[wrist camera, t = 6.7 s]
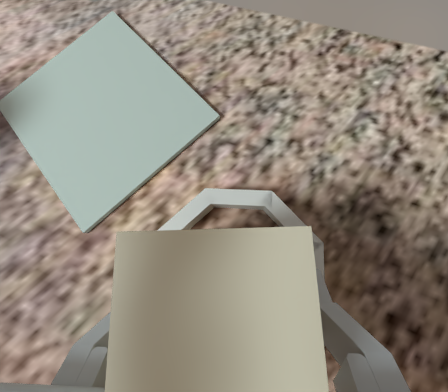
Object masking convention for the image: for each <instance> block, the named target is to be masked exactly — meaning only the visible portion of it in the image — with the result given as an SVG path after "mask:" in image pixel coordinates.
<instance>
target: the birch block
mask: <svg viewBox="0 0 448 392" xmlns="http://www.w3.org/2000/svg"><path fill="white" fill-rule="evenodd" d="M105 392H329V388H328V379H327V369H326V360H325V350H324V341H323V331H322V322H321V312H320V303H319V294H318V284H317V275H316V265H315V256H314V246H313V237H312V228H311V226H296V227H262V228H228V229H194V230H160V231H127V232H117V235H116V248H115V261H114V274H113V288H112V301H111V314H110V327H109V340H108V354H107V367H106V380H105Z"/></svg>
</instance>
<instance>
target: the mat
mask: <svg viewBox="0 0 448 392" xmlns="http://www.w3.org/2000/svg"><path fill="white" fill-rule="evenodd" d="M0 111H1V113H2V114H3V115H4V117H5V118H6V120H7V121H8V123H9V124H10V126H11V127H12V129H13V130H14V132H15V133H16V135H17V136H18V138H19V139H20V141H21V142H22V144H23V145H24V146H25V148H26V149H27V151H28V152H29V154H30V155H31V157H32V158H33V160H34V161H35V163H36V164H37V166H38V167H39V169H40V170H41V172H42V173H43V175H44V176H45V177H46V179H47V180H48V182H49V183H50V185H51V186H52V188H53V189H54V191H55V192H56V194H57V195H58V197H59V198H60V200H61V201H62V203H63V204H64V206H65V207H66V209H67V210H68V211H69V213H70V214H71V216H72V217H73V219H74V220H75V222H76V223H77V225H78V226H79V228H80V229H81V231H82V232H83V233H88V232H89V231H90V230H91V229H93V228H94V227H95V226H96V225H97V224H98V223H100V222H101V221H102V220H103V219H104V218H105V217H107V216H108V215H109V214H110V213H111V212H112V211H114V210H115V209H116V208H117V207H118V206H119V205H120V204H122V203H123V202H124V201H125V200H126V199H127V198H129V197H130V196H131V195H132V194H133V193H134V192H136V191H137V190H138V189H139V188H140V187H141V186H143V185H144V184H145V183H146V182H147V181H148V180H149V179H151V178H152V177H153V176H154V175H155V174H156V173H158V172H159V171H160V170H161V169H162V168H163V167H165V166H166V165H167V164H168V163H169V162H170V161H172V160H173V159H174V158H175V157H176V156H177V155H178V154H180V153H181V152H182V151H183V150H184V149H185V148H187V147H188V146H189V145H190V144H191V143H192V142H194V141H195V140H196V139H197V138H198V137H199V136H201V135H202V134H203V133H204V132H205V131H206V130H207V129H209V128H210V127H211V126H212V125H213V124H214V123H216V122H217V121H218V120H219V119H220V116H219V115H218V114H217V113H216V112H215V111H214V110H213V109H212V108H211V107H210V106H209V105H208V104H207V103H206V102H205V101H204V100H203V99H202V98H201V97H200V96H199V95H198V94H197V93H196V92H195V91H194V90H193V89H192V88H191V87H190V86H189V85H188V84H187V83H186V82H185V81H184V80H183V79H182V78H181V77H180V76H179V75H178V74H177V73H176V72H175V71H174V70H173V69H172V68H170V67H169V66H168V65H167V64H166V63H165V62H164V61H163V60H162V59H161V58H160V57H159V56H158V55H157V54H156V53H155V52H154V51H153V50H152V49H151V48H150V47H149V46H148V45H147V44H146V43H145V42H144V41H143V40H142V39H141V38H140V37H139V36H138V35H137V34H136V33H135V32H134V31H133V30H132V29H131V28H130V27H129V26H128V25H127V24H126V23H125V22H124V21H123V20H121V19H120V18H119V17H118V16H117V15H116V14H115V13H114V12H113V11H112V12H111V13H109V14H108V15H107V16H106V17H104V18H103V19H102V20H100V21H99V22H98V23H97V24H95V25H94V26H93V27H92V28H90V29H89V30H88V31H87V32H85V33H84V34H83V35H82V36H80V37H79V38H78V39H77V40H75V41H74V42H73V43H72V44H70V45H69V46H68V47H67V48H65V49H64V50H63V51H62V52H60V53H59V54H58V55H57V56H55V57H54V58H53V59H51V60H50V61H49V62H48V63H46V64H45V65H44V66H43V67H41V68H40V69H39V70H38V71H36V72H35V73H34V74H33V75H31V76H30V77H29V78H28V79H26V80H25V81H24V82H23V83H21V84H20V85H19V86H18V87H16V88H15V89H14V90H13V91H11V92H10V93H9V94H8V95H6V96H5V97H4V98H2V99H1V100H0Z"/></svg>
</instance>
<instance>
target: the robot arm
mask: <svg viewBox="0 0 448 392" xmlns="http://www.w3.org/2000/svg"><path fill="white" fill-rule="evenodd" d="M316 275H317V284H318V294H319V303H320V312H321V322H322V331H323V341H324V345H325V346H326V348H327V349H328V350H329V352H330V353H331V354H332V355H333V357H334V358H335V359H336V361H337V362H338V363H339V365H340V366H341V368H340V369H339V371H338V373H337V375H336V377H335V378H334V380H333V382H334V386H335V389H336V392H411V391H410V389H409V387H408V385H407V383H406V381H405V379H404V377H403V375H402V373H401V371H400V369H399V367H398V366H397V364H396V362H395V360H394V358H393V356H392V354H391V353H390V352H389V351H388V350H387V349H386V348H385V347H384V346H383V345H382V344H380V343H379V342H378V341H377V340H376V339H375V338H374V337H373V336H372V335H371V334H370V333H369V332H368V331H366V330H365V329H364V328H363V327H362V326H361V325H360V324H359V323H358V322H357V321H356V320H355V319H353V318H352V317H351V316H350V315H349V314H348V313H347V312H346V311H345V310H344V309H343V308H342V307H341V306H339V305H338V304H337V303H333V302H332V299H331V297H330V294H329V291H328V289H327V286H326V284H325V281H324V279H323V276H322V273H321V271H320V270H319V269H318V268H316ZM110 314H111V312H110V313H109V314H108V315H106V316H105V317H104V318H103V319H102V320H101V321H100V322H99V323H97V324H96V325H95V326H94V327H93V328H92V329H91V330H90V331H88V332H87V333H86V334H85V335H84V336H83V337H82V338H81V339H79V340H78V341H77V342H76V343H75V344H74V345H73V346H72V348H71V350H70V352H69V353H68V355H67V357H66V359H65V360H64V362H63V364H62V366H61V367H60V369H59V371H58V373H57V374H56V376H55V378H54V380H53V381H52V383H51V385H41V384H20V383H0V392H105V380H106V367H107V354H108V340H109V327H110Z"/></svg>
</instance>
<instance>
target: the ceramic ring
mask: <svg viewBox="0 0 448 392" xmlns="http://www.w3.org/2000/svg"><path fill="white" fill-rule="evenodd" d="M214 207H216V208H237V209H258V210H264V211H265V212H266V214H267V215H268V216H269V217H270V218H271V219H272V220H273V221H274V222H275V223H276V224H277V225H278V226H279V227H296V226H306V225H305V224H304V223H303V222H302V221H301V220H300V219H299V218H298V217H297V216H296V215H295V214H294V213H293V212H292V211H291V210H290V209H289V208H288V207H287V206H286V205H285V203H284V202H283V201H282V200H281V199H280V198H279V197H278V196H277V195H276V194H275V193H274V192H273V191H263V190H237V189H210V188H205V189H204V190H203V191H202V192H201V193H200V194H198V195H197V196H196V197H195V198H194V199H193V200H192V201H190V202H189V203H188V204H187V205H186V206H185V207H184V208H182V209H181V210H180V211H179V212H178V213H177V214H176V215H175V216H173V217H172V218H171V219H170V220H169V221H168V222H167V223H165V224H164V225H163V226H162V227H161V228H160V229H159V230H158V231H160V230H190V229H191V228H192V227H193V226H194V225H195V224H196V223H197V222H198V221H200V220H201V219H202V218H203V217H204V216H205V215H206V214H207V213H209V212H210V211H211V210H212V209H213V208H214ZM312 237H313V246H314V256H315V265H316V268H318V269H319V270H320V271H321V273H322V276H323V279H324V243H323V242H322V241H321V240H320V239H319V238H318V237H317V236H316V235H315V234H314V233H313V232H312ZM324 281H325V280H324Z"/></svg>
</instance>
